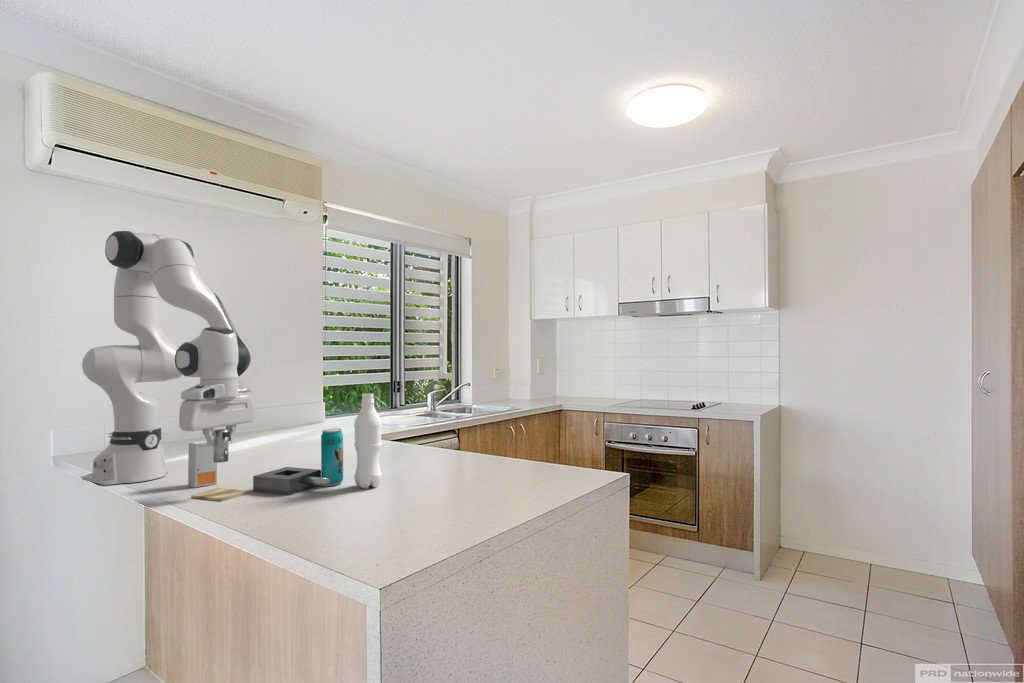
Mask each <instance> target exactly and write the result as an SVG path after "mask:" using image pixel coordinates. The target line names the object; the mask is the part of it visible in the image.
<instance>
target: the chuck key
mask: <svg viewBox="0 0 1024 683" xmlns="http://www.w3.org/2000/svg"><path fill="white" fill-rule="evenodd" d="M212 435H213V437H214V438H216V439H217V445H215V446H214V448H213V462H215V463H217V464H218V463H226V462H229V444H230V443H229V437H230V432H229V429H226V428H220V429H213V432H212Z"/></svg>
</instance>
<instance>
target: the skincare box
mask: <svg viewBox="0 0 1024 683" xmlns="http://www.w3.org/2000/svg"><path fill="white" fill-rule="evenodd" d="M213 448H214V446H207V439H206V440H200V441H192V442H188V458H187V459H188V463H187V464H188V465H187V466H188V467H187V468H188V470H187V472H188V473H187V474H188V476H187V478H188V480H187V482H188V483H187V484H188V485H187V486H188V487H191V488H195V489H196V488H200V487H201V488H203V487H207V486H213V485H217V483H218V463H215V462H213Z"/></svg>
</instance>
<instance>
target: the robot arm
mask: <svg viewBox="0 0 1024 683" xmlns="http://www.w3.org/2000/svg"><path fill="white" fill-rule="evenodd" d="M104 251H105V257H106V260H107V262H109V264H110V265H112V266H114V267H117V269H116V270H117V271H116V275H115V280H114V285H113V286H114V287H113V322H114V324H115V325H116V327H117V328H119V329H120V330H122V332H125V333H128V334H130V335H132V336H135V337H136V339H137V340H138V344H136V345H135V344H128V345H127V344H125V345H124V344H123V345H119V344H116V345H115V344H113V345H112V344H111V345H110V344H109V345H104V346H98V347H93V348H92V347H91V348H90V349H89V350H88V351H87V352H86V353H85V355H84V357H83V359H82V362H81V368H82V373H83V374H84V376H85V378H87V379H88V380H89V381H91V382H92V383H94V384H96V385H97V386H99V387H100V388H101V389H102V390H103V391H104V392H105V394H106V395H107V396H108V397H109V399H110V402H111V405H112V412H113V420H114V421H113V422H114V426H113V427H114V428H113V431H112V432H110V433H108V435H110V436H108V438H110V439H109V445H108V446H106V448H104V449H103V450H102V451H101V452H100V453H99V454H98V455H96V456H95V457H94V459H93V461H92V462H93V463H92V473H88V474H85V475H82V477H81V479H82V481H87V482H91V483H95V484H98V485H100V486H101V485H102V486H109V485H117V484H119V485H120V484H129V483H130V484H131V483H138V482H145V481H146V482H147V481H151V480H156V479H159V478H162V477H164V476H166V475H167V473H169V468H168V467H166V460H165V450H164V448H165V447H164V445H163V444H162V443H161V440H162V434H163V433H162V428H161V427H160V420H161V419H160V415H161V414H160V412H161V411H160V408H161V407H160V403H159V401H158V400H157V399H156V398H154V397H153V396H150V395H149V394H145V393H142V392H140V391H139V390H138V389H137V387H136V384H138V383H154V382H156V383H157V382H165V381H171V380H176V379H180V378H182V376H184V377H188V378H199V383H198V384H197V383H196V384H195V385H193V386H192V387H188V388H186V389H184V390H182V391H181V393H180V398H181V400H183V401H182V402H181V404H180V407H179V414H178V417H179V418H178V421H179V422H178V424H179V426H178V427H179V428H180V430H182V431H183V432H196V431H202V434H203V436H204V437H205V439H206V440H207V446H215V445H217V439H216V438H214V436H213V435H212V432H213V431H214V429H215V428H222V427H225V429H229V432H230V437H229V444H232V443H233V436H234V434H235V432H236V430H237V425H241V424H248V423H252V422H254V420H255V418H256V411H255V410H256V409H255V403H254V402H255V401H254V400H253V399H254V398H253V392H251V390H250V389H248V388H247V387H246V388H245V387H243V388H240V387H239V386H240V385H239V384H240V382H239V378H240V376H242V375H243V374H244V373H245V372H246V371H247V370H248V368H249V367H250V364H251V360H252V359H251V358H252V356H251V353H250V351H249V348H248V347H247V345H246V343H244V342H243V341H242V338H240V336H239V334H238V332H237V330H236V327H235V326H234V323H233V322H232V320H231V318H230V316H229V313H228V312H227V310H226V308H225V306H224V304H223V302H222V300H221V299H220V297H219V296H218V295H217V294H216V293H214V292H213V291H212V290H211V289H210V288H209V287H208V286H207V284H206V283H205V282H204V280H203V279H202V277H201V276H200V273H199V271H198V266H197V263H196V262H195V259H194V258H195V256H194V251H193V249H192V246H191V245H190V243H188V242H186V241H184V240H183V239H179V238H176V237H175V238H174V237H168V236H164V235H159V234H156V233H151V234H150V233H146V232H145V233H143V232H132V231H129V230H118V231H114V232H112V233H111V234H110V235H109V236H108V237H107V239H106V240H105V247H104ZM160 299H161V300H162V301H164V302H165V303H167V304H168V305H170V306H173V307H175V308H178V309H182V310H185V311H187V312H189V313H192V314H195V315H196V316H199V317H200V318H202V319H204V320H205V321H206V323H207V324H208V325H209V326H208V327H205V328H203V329H201V332H200V334H199V335H198V336H197V337H196V338H194V339H192V340H190V341H185V342H184V343H181V344H180V345H179V347H178V346H177V345H175V344H174V343H173V342H172V341H171V340H170V339H169V338H168V337H167V335H166V333H165V332H164V330H163V327H162V323H161V317H160Z"/></svg>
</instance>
